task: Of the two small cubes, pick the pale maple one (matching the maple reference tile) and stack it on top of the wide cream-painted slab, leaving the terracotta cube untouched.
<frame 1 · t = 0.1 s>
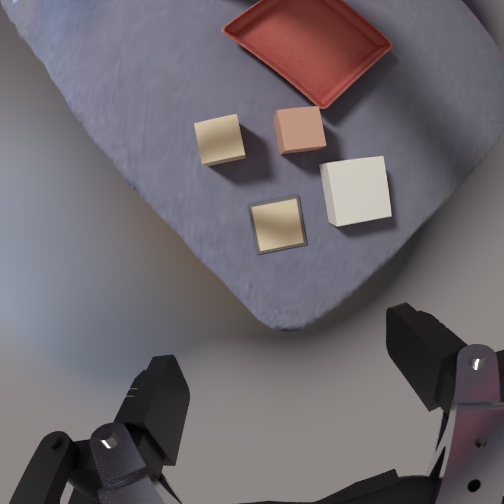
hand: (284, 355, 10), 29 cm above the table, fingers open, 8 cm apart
plant saucer: (309, 41, 32), on the table
terracotta cube: (295, 134, 35), on the table
reference tile: (277, 224, 38), on the table
base slab: (350, 189, 37), on the table
maple cube: (222, 144, 35), on the table
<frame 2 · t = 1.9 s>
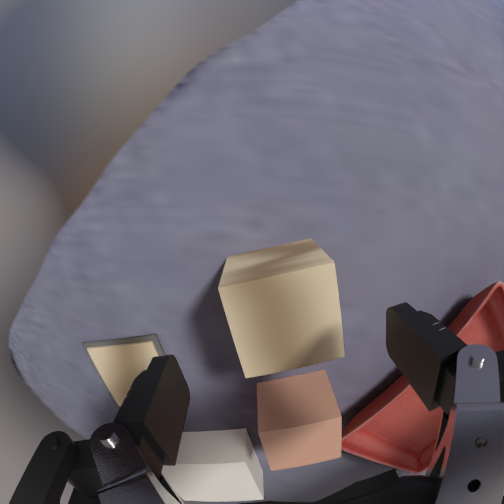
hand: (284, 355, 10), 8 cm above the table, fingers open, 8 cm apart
plant saucer: (442, 386, 20), on the table
terracotta cube: (294, 399, 19), on the table
reference tile: (134, 375, 19), on the table
base slab: (213, 453, 22), on the table
maple cube: (277, 286, 17), on the table
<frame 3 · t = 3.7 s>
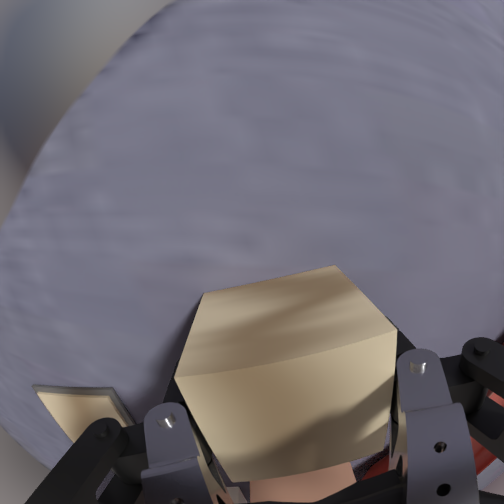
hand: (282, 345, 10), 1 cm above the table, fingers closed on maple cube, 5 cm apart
plant saucer: (467, 423, 15), on the table
terracotta cube: (297, 459, 13), on the table
reference tile: (95, 428, 13), on the table
base slab: (200, 503, 15), on the table
maple cube: (281, 336, 11), on the table, touching gripper
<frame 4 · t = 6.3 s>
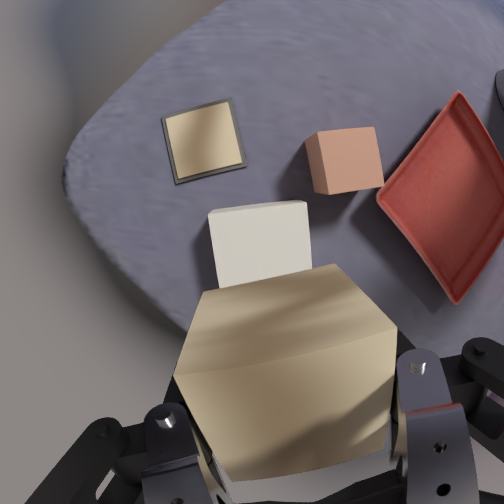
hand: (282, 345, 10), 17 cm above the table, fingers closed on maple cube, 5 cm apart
plant saucer: (450, 196, 27), on the table
terracotta cube: (334, 162, 25), on the table
reference tile: (203, 139, 24), on the table
base slab: (260, 245, 27), on the table
maple cube: (281, 335, 11), point 16 cm above the table, touching gripper
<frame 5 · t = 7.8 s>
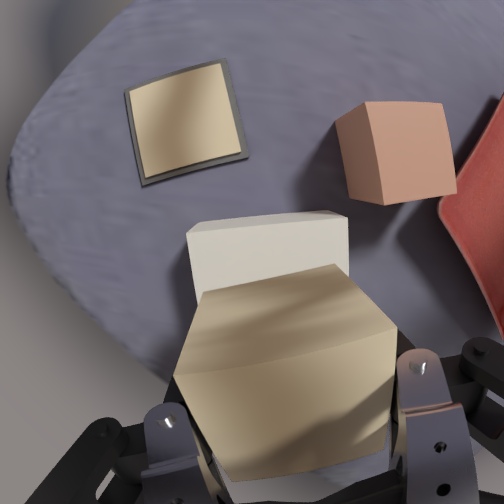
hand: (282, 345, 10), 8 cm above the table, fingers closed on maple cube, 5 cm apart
terracotta cube: (376, 155, 16), on the table
reference tile: (182, 118, 16), on the table
base slab: (269, 276, 18), on the table
maple cube: (281, 335, 11), point 7 cm above the table, touching gripper
when the fingers open (6 cm above the table, at t = 9.1 s): maple cube drops 2 cm, point 4 cm above the table.
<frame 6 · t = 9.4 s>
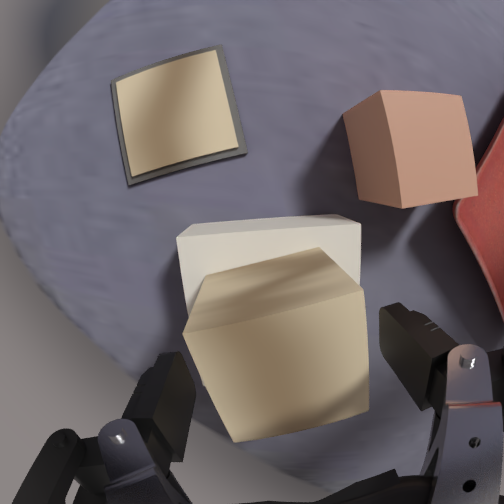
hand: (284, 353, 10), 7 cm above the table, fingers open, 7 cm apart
terracotta cube: (388, 152, 15), on the table
reference tile: (173, 110, 14), on the table
base slab: (269, 285, 17), on the table
maple cube: (275, 312, 13), point 4 cm above the table
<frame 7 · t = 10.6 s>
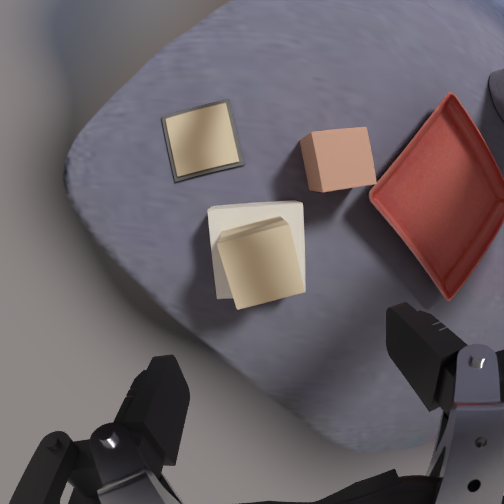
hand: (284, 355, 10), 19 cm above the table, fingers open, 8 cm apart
plant saucer: (443, 195, 28), on the table
terracotta cube: (328, 161, 26), on the table
reference tile: (201, 139, 25), on the table
base slab: (256, 242, 28), on the table, touching maple cube
maple cube: (258, 251, 24), point 4 cm above the table, touching base slab
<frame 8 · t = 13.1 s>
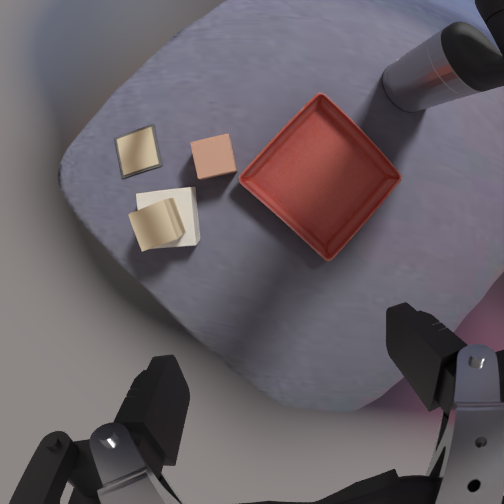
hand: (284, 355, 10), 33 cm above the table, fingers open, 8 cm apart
plant saucer: (321, 176, 41), on the table
terracotta cube: (216, 159, 39), on the table
reference tile: (137, 151, 39), on the table
base slab: (172, 215, 42), on the table, touching maple cube
maple cube: (163, 220, 38), point 4 cm above the table, touching base slab
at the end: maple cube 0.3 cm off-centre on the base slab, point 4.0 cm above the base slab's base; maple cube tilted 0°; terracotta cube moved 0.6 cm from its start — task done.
